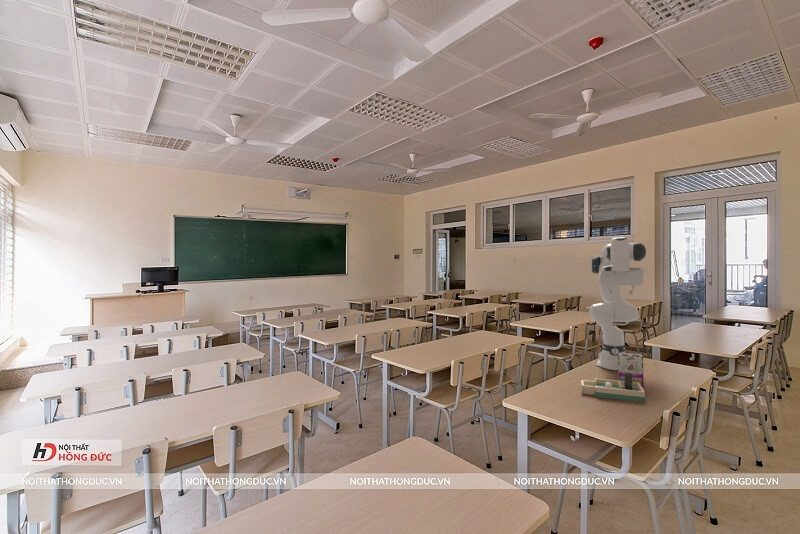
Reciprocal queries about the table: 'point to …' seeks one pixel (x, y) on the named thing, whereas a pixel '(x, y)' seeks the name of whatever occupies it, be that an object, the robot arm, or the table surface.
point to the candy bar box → (631, 366)
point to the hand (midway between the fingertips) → (620, 293)
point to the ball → (608, 385)
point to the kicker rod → (626, 382)
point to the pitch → (613, 390)
